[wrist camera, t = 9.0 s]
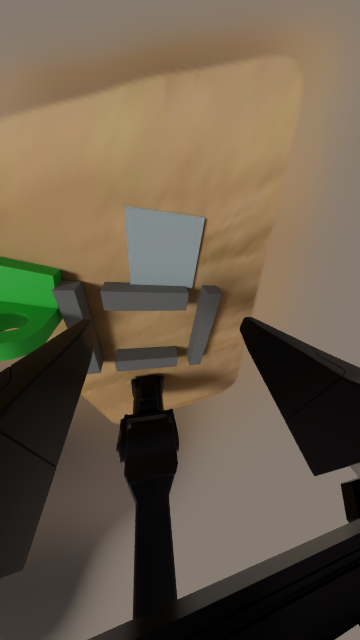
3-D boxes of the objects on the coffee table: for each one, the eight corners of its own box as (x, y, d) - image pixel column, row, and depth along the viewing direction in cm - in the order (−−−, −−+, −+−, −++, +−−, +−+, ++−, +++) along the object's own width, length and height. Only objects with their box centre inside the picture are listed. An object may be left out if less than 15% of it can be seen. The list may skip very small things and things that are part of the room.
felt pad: (191, 286, 21) (192, 288, 20) (130, 284, 19) (130, 286, 19) (203, 217, 16) (204, 217, 16) (124, 205, 14) (124, 206, 14)
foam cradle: (196, 353, 30) (199, 364, 28) (90, 361, 26) (86, 374, 24) (215, 285, 21) (222, 294, 19) (62, 280, 17) (51, 290, 15)
